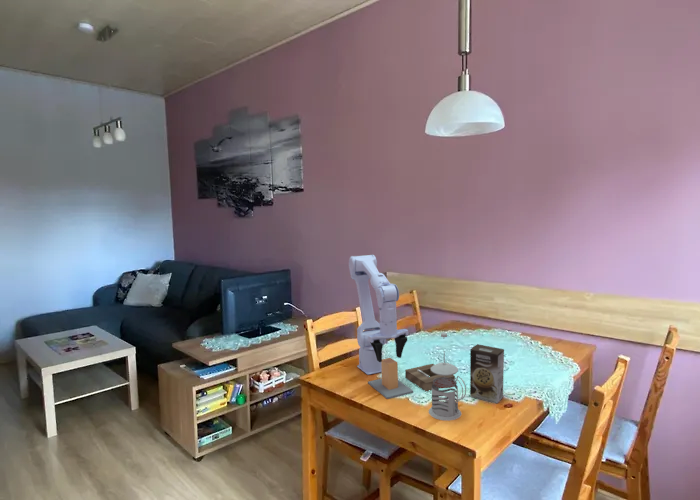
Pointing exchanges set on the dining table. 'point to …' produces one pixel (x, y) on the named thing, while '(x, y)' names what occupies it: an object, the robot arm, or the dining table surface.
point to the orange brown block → (389, 373)
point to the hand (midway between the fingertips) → (389, 358)
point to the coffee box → (486, 373)
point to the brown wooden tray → (423, 376)
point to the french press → (445, 391)
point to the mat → (391, 393)
